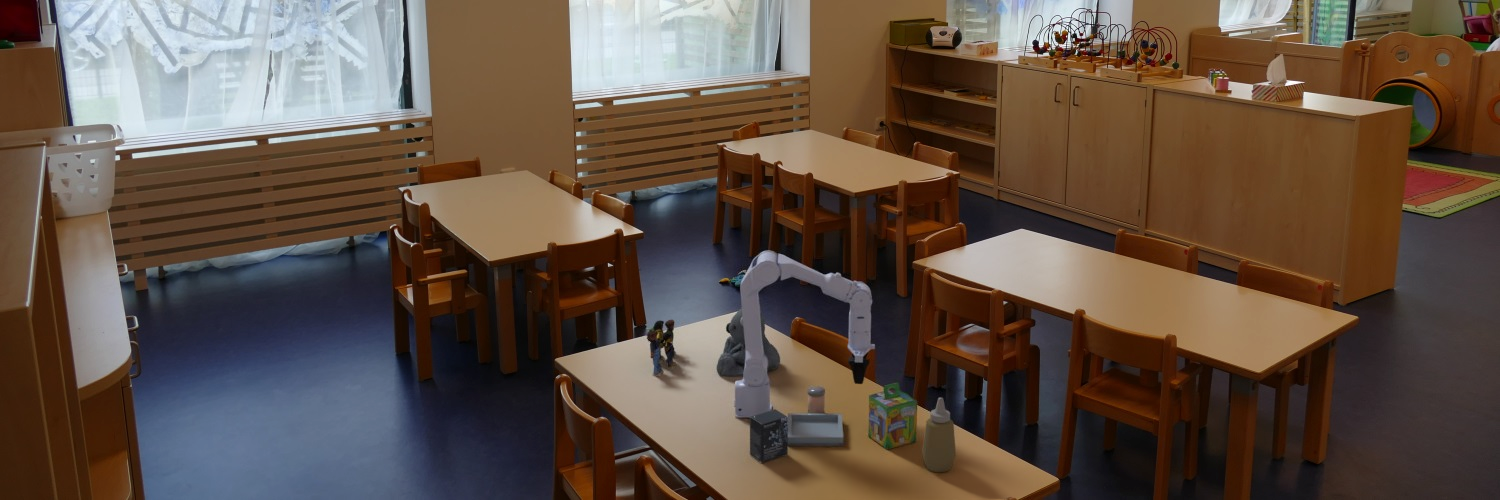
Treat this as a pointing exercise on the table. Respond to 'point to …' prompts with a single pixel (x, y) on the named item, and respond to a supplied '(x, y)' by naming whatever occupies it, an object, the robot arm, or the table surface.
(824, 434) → the tray
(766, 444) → the box
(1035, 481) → the table surface
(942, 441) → the squeeze bottle
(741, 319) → the koala plush
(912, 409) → the chalk box
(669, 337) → the doll family
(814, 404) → the shaker
